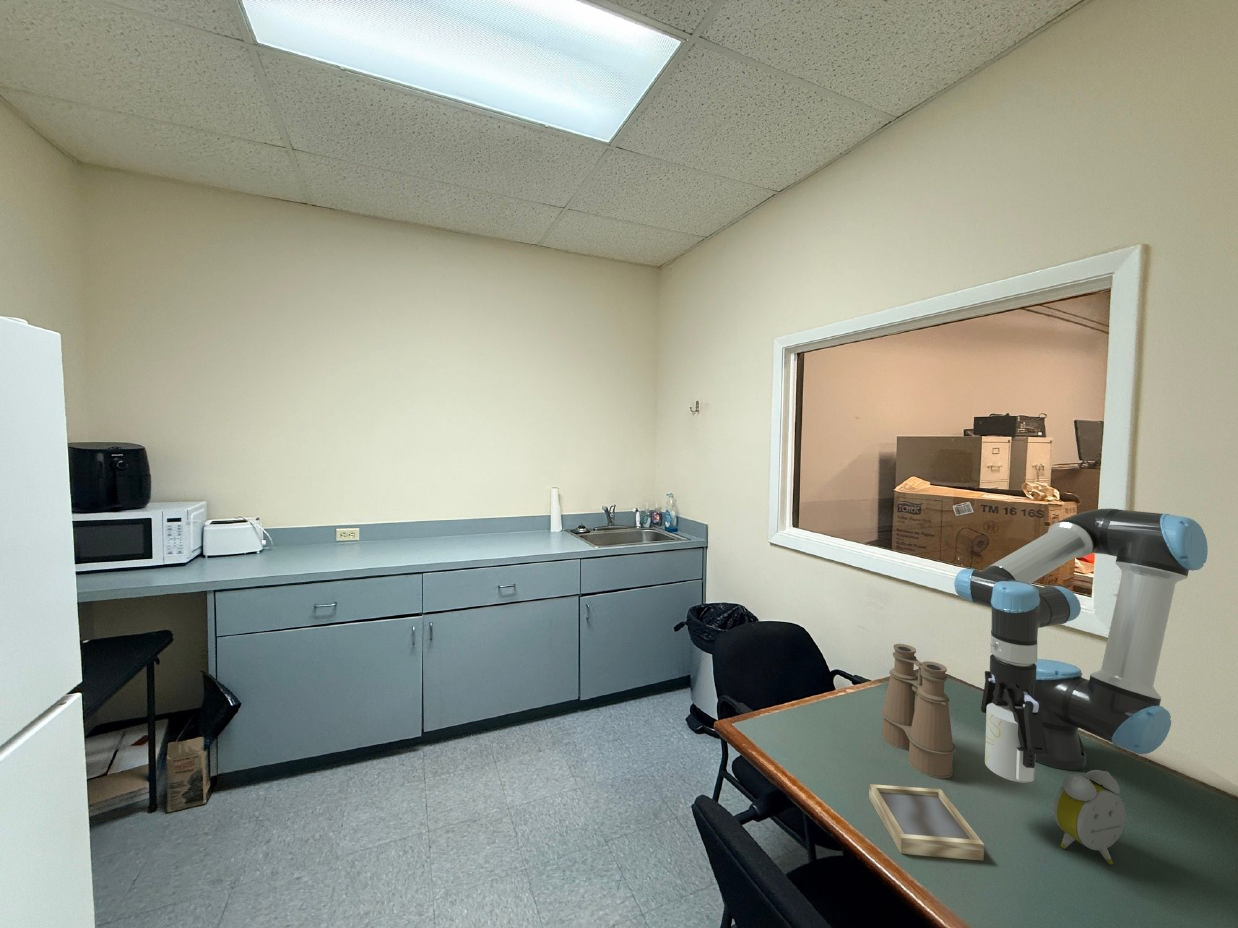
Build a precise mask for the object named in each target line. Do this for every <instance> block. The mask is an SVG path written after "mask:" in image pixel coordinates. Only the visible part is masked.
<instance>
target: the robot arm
mask: <svg viewBox="0 0 1238 928" xmlns="http://www.w3.org/2000/svg"><path fill="white" fill-rule="evenodd" d="M1208 551H1209V548H1208V539H1207V536H1206V534H1205V532H1204V529H1203V528H1202V526H1201V525H1200V524H1199V523H1198V522H1197V521H1196V520H1194V519H1192V518H1190V517H1188V516H1180V515H1175V514H1169V513H1160V512H1159V513H1158V512H1148V511H1137V510H1125V509H1120V508H1098V509H1097V508H1096V509H1092V510H1086V511H1083V512H1079V513H1075V514H1073V515H1070V516H1067V517H1065V518H1063V519H1060V520H1059V521H1057V522H1056V523H1053V524H1052V525H1051V526H1050V527H1049V528H1048V530H1047V532H1046V533H1044V534H1043V535H1041V536H1039V537H1038V538H1036V539H1034V540H1032V541H1031V542H1029V543H1027V544H1025V545H1024V546H1022V547H1021V548H1018V549H1017V550H1015V551H1013V552H1011V553H1010V554H1008V555H1007V556H1004V557H1003V558H1001V559H999V560H997V561H996V562H994V563H992V564H990V565H989V566H987V567H985V568H983V569H981V570H977V569H975V568H973V569H972V568H963V569H960V570H959V572H958V573H957V574H956V575H955V577H954V583H953V585H954V589H955V590H954V591H955V592H956V593H955V594H957V596H959V597H960V598H961V599H963V600H964V599H965V600H967V601H969V602H972V603H973V604H976V605H977V604H978V605H981V606H985V607H988V608H990V609H991V629H990V635H991V637H990V643H989V644H990V653H991V654H990V655H989V657H990V658H989V670H985V671H984V679H985V680H984V686H983V693H982V699H981V704H980V705H981V706H980V710H981V712H982V713H983V714H986V710H987V705H988V704H990V703H993V704H995V705H999V706H1008V705H1009V709H1010V711H1011V712H1012V713H1013V716H1014V720H1015V722H1017V723H1018V738H1019V742H1020V746H1021V747H1017V764H1016V779H1017V780H1018V781H1032V782H1034V780H1033V774H1034V767H1035V768H1036V762H1037V763H1040V764H1042V765H1044V766H1045V765H1046V766H1047V767H1052V768H1055V769H1060V770H1066V771H1079V770H1082V769H1084V768H1085V767H1086V766H1087V753H1086V750H1085V747H1084V744H1083V741H1082V738H1081V735H1080V732H1079V729H1080V730H1083V731H1085V732H1087V733H1090V734H1091V735H1094V736H1096V737H1099V738H1100V739H1103V740H1105V741H1107V742H1109V743H1111V744H1113V745H1114V746H1115V747H1118V748H1119V747H1120V748H1121V749H1125V750H1127V751H1129V752H1132V753H1135V754H1138V755H1139V754H1140V755H1146V754H1151V753H1152V752H1154V751H1156V750H1157V749H1158V748H1159V747H1160V746H1161V745H1162V744H1163V743H1164V742H1165V741H1166V738H1167V737H1168V734H1169V732H1170V729H1171V726H1172V719H1171V718H1172V716H1171V713H1170V711H1169V710H1167V709H1166V708H1165V707H1164V706H1162V705H1161V702H1162V696H1161V695H1160V693H1158V691H1157V690H1156V689H1155V687H1154V684H1155V679H1156V676H1157V671H1158V666H1159V661H1160V657H1161V652H1162V648H1163V644H1164V639H1165V633H1166V629H1167V626H1168V625H1167V623H1168V619H1169V615H1170V610H1171V606H1172V601H1173V598H1174V592H1175V589H1176V588H1175V587H1176V584H1177V583H1178V582H1181V581H1183V580H1186V579H1188V575H1189V571H1199V570H1201V569H1202V568H1203V567H1204V565H1205V563H1206V562H1207V559H1208ZM1090 554H1091V555H1092V554H1096V555H1097V554H1099V555H1108V556H1112V557H1116V559H1115V565H1117V566H1118V568H1119V569H1120V570H1121V577H1120V583H1119V587H1118V589H1117V590H1118V591H1117V595H1116V600H1115V603H1114V604H1115V605H1114V610H1113V613H1112V619H1111V622H1110V627H1109V632H1108V634H1107V635H1108V636H1107V641H1106V644H1105V645H1106V646H1105V649H1104V655H1103V657H1102V658H1103V659H1102V662H1101V667H1100V669H1099V670H1098V671H1094V672H1092V673H1090V676H1089V679H1087V678H1085V677H1082V676H1083V672H1082V670H1081V668H1079V667H1078V666H1076V665H1074V664H1071V663H1067V662H1065V661H1059V660H1053V659H1044V658H1038V633H1039V628H1044V627H1051V626H1057V625H1064V624H1067V623H1069V622H1071V621H1074V620H1076V619H1077V618H1078V617H1079V616H1080V614H1081V610H1082V605H1081V602H1080V600H1079V598H1078V597H1077V595H1076V594H1075V593H1074V592H1073V591H1071V590H1070V589H1067V588H1066V587H1065V586H1059V585H1046V586H1041V585H1036V584H1033V583H1035V582H1036V581H1037V580H1039V579H1041V578H1042V577H1044V576H1046V575H1047V574H1049V573H1051V572H1053V571H1054V570H1056V569H1057V568H1059V567H1061V566H1062V565H1064V564H1066V563H1067V562H1069V561H1070V560H1073V559H1074V558H1077V559H1080V558H1084V557H1086V556H1088V555H1090ZM1016 707H1020V708H1016ZM1026 743H1027V744H1026Z"/></svg>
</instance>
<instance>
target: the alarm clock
mask: <svg viewBox="0 0 1238 928" xmlns="http://www.w3.org/2000/svg"><path fill="white" fill-rule="evenodd" d="M1086 776H1087V777H1086ZM1120 790H1121V789H1120V786H1119V783H1118V782H1117V781H1116V779H1115V778H1114V777H1113V776H1112V775H1111V774H1110V772H1109V771H1106V770H1105V771H1103V770H1099V769H1092V770H1089V771H1088V772H1087V773H1086V774H1085V776H1083V775H1081V774H1078V773H1077V774H1076V773H1071V774H1068V775H1066V776H1065V777H1064V778H1063V780H1062V786H1061V787H1060V788H1059V790H1058V792H1057V794H1056V797H1055V798H1054V804H1053V817H1054V821H1055V822H1056V824H1057V826H1058V827H1059V828H1060V829H1061V830H1062V831H1063V832H1064V834H1063V837H1062V841H1061V843H1060V846H1059V847H1061V848H1062V849H1064V850H1066V849H1067V848H1068V847H1069V846H1070V845H1071V844H1072V843H1073V842H1074V841H1076V842H1078V843H1080V844H1081V845H1082V846H1084V847H1086V848H1088V849H1089V850H1093V851H1099V853H1100V854H1101V855H1102V857H1103V858H1104V860H1105V861H1106V862H1107V864H1108V865H1113V864H1114V862H1113V859H1112V857H1111V855H1110V852H1109V850H1108V848H1110V847H1112V846H1113V845H1115V843H1116V842H1117V841H1118V840H1119V839H1120V836H1121V835H1122V832H1123V831H1124V827H1125V823H1126V819H1127V818H1126V817H1127V816H1126V814H1127V813H1126V812H1127V811H1126V808H1125V805H1124V802H1123V801H1122V799H1121V798H1120V796H1118V795H1119V794H1120Z"/></svg>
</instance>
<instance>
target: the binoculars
mask: <svg viewBox="0 0 1238 928" xmlns="http://www.w3.org/2000/svg"><path fill="white" fill-rule="evenodd" d="M893 649H894V651H893V652H892V656H893V658H894V667H893V668H891V669H890V670H889V672H888V673H889V675H890V676H889V680H888V684H887V690H886V694H885V695H886V696H885V700H884V705H883V708H882V709H881V710H880V714H881V716H882V724H881V725H882V729H881V738H882V739H883V740H884V741H885V742H886V743H887V744H889V745H891V746H893V747H896V748H898V749H901V750H906V751H908V758H907V759H908V764H910V766H911V767H912V768H913V769H914V770H916V771H917V772H920V773H921V774H923V775H926V776H927V777H930V778H931V777H932V778H935V779H949V778H950V777H952V775H953V773H954V772H953V771H954V770H953V762H954V759H953V758H954V752H956V745H955V743H954V742H953V735H952V725H951V717H950V709H949V702H950V698H949V696H948V695H947V693H945V682H946V681H947V680H948V677H947V675H946V672H948V667H946V666H945V665H944V664H941V663H939V662H935V661H929V660H927V661H925V660H924V661H922V662H921V661H919V659H917V655H916V656H915V654H916V653H917V648H916V647H914V646H912V645H909V644H904V643H894V644H893ZM915 666H916V667H917V668H918V672H917V673H918V674H917V673H915V672H914V670H915V669H914V667H915Z"/></svg>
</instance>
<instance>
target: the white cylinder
mask: <svg viewBox="0 0 1238 928" xmlns="http://www.w3.org/2000/svg"><path fill="white" fill-rule="evenodd" d="M1016 708H1020V707H1016ZM985 717H986V718H985V721H986V722H985V750H984V751H985V752H984V763H985V766H986V767H987V768H988V769H989V770H990V771H991V772H993V773H994V774H995V775H997V776H999V777H1001V778H1003V779H1005V780H1008V781H1011V782H1017V783H1024V784H1025V783H1026V784H1027V783H1031V782H1033V781H1034V780H1035V779H1036V777H1035V775H1036V766H1035V767H1034V774H1033V781H1018V780H1017V779H1016V764H1017V747H1021V746H1020V742H1019V738H1018V723H1017V722H1015V720H1014V716H1013V713H1012V712H1011V711H1010V709H1009V705H1008V706H999V705H995V704H993V703H990V704H988V705H987V710H986V713H985ZM1026 744H1027V743H1026Z"/></svg>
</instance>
